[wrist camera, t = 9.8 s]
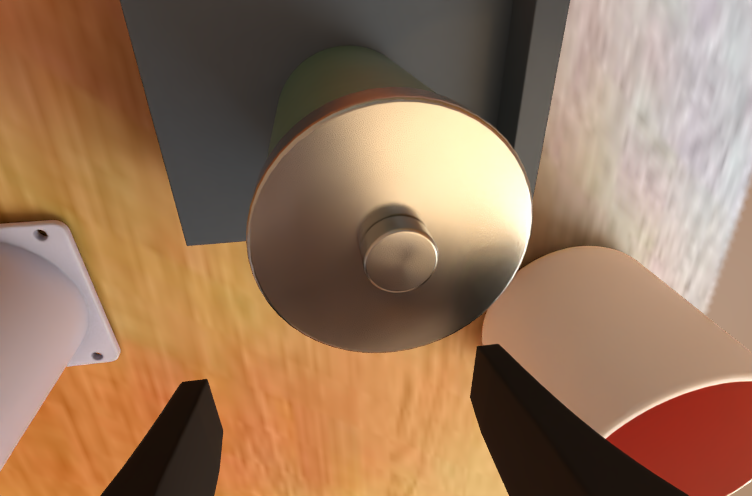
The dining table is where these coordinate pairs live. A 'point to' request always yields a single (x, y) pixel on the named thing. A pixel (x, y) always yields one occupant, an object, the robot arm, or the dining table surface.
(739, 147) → the dining table surface
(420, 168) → the canister
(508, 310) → the cup
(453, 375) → the dining table surface
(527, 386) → the robot arm
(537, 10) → the grey channel-top block
